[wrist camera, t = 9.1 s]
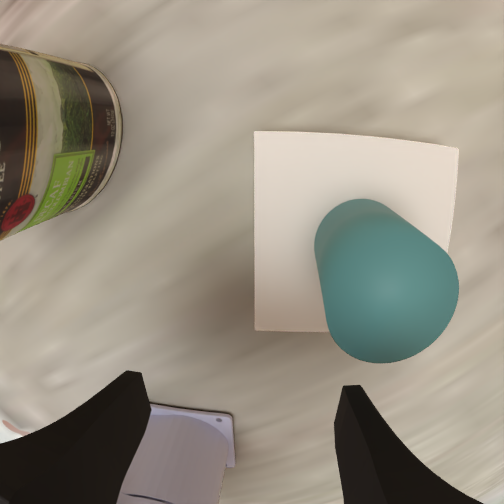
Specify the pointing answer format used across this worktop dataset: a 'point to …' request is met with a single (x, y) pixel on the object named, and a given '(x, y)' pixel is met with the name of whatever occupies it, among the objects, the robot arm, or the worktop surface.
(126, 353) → the worktop surface
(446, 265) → the teal cylinder
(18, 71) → the coffee can
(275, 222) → the plinth
